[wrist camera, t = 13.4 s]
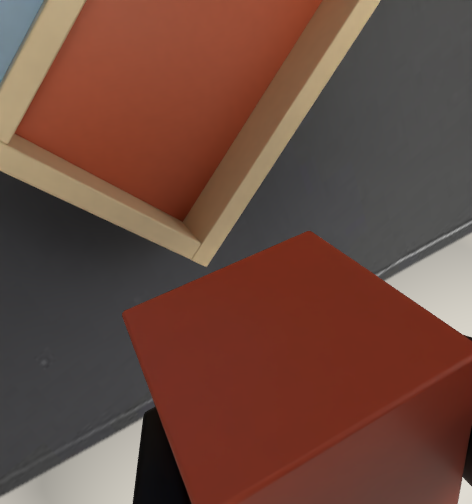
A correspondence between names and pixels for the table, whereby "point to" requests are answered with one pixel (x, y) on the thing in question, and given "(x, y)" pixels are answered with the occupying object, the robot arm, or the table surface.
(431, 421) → the red block
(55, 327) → the table surface
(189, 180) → the sorting tray
